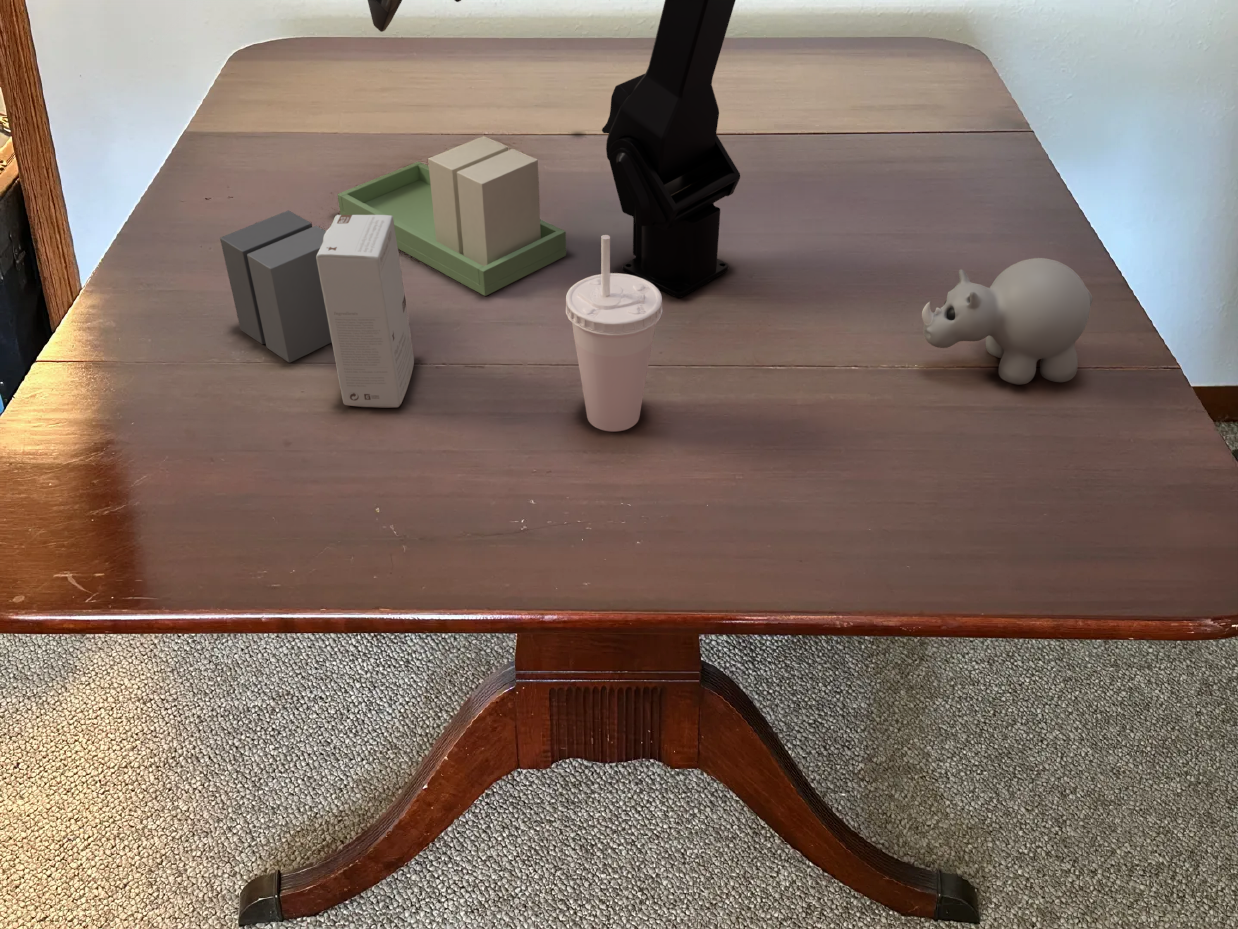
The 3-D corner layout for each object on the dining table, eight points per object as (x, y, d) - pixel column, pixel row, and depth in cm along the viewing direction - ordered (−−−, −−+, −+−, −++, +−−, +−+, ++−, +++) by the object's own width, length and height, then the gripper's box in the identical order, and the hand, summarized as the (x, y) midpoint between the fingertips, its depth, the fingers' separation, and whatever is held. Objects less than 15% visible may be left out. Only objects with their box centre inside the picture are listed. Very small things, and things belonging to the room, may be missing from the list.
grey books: (354, 331, 93) (340, 238, 88) (289, 363, 90) (270, 268, 85) (305, 300, 97) (288, 209, 91) (240, 330, 93) (219, 237, 88)
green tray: (566, 255, 102) (565, 231, 101) (485, 296, 97) (483, 271, 96) (421, 183, 113) (418, 160, 111) (340, 217, 107) (336, 193, 106)
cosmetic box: (402, 409, 85) (382, 257, 78) (339, 407, 85) (313, 256, 78) (416, 359, 90) (399, 212, 82) (356, 358, 90) (333, 211, 83)
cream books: (541, 248, 102) (538, 159, 97) (488, 274, 98) (481, 183, 93) (489, 222, 105) (483, 135, 100) (436, 246, 102) (427, 158, 97)
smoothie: (574, 385, 88) (571, 210, 79) (662, 392, 87) (669, 216, 78) (561, 439, 83) (556, 259, 74) (654, 447, 82) (660, 266, 73)
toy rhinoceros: (900, 339, 93) (918, 241, 87) (1055, 337, 93) (1082, 239, 88) (921, 395, 87) (942, 293, 82) (1086, 392, 88) (1117, 290, 82)
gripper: (465, -231, 102) (431, -67, 114) (290, -190, 91) (273, -14, 103) (558, -154, 100) (513, 4, 112) (390, -103, 89) (361, 67, 101)
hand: (417, 13), depth 107 cm, fingers open, 9 cm apart
